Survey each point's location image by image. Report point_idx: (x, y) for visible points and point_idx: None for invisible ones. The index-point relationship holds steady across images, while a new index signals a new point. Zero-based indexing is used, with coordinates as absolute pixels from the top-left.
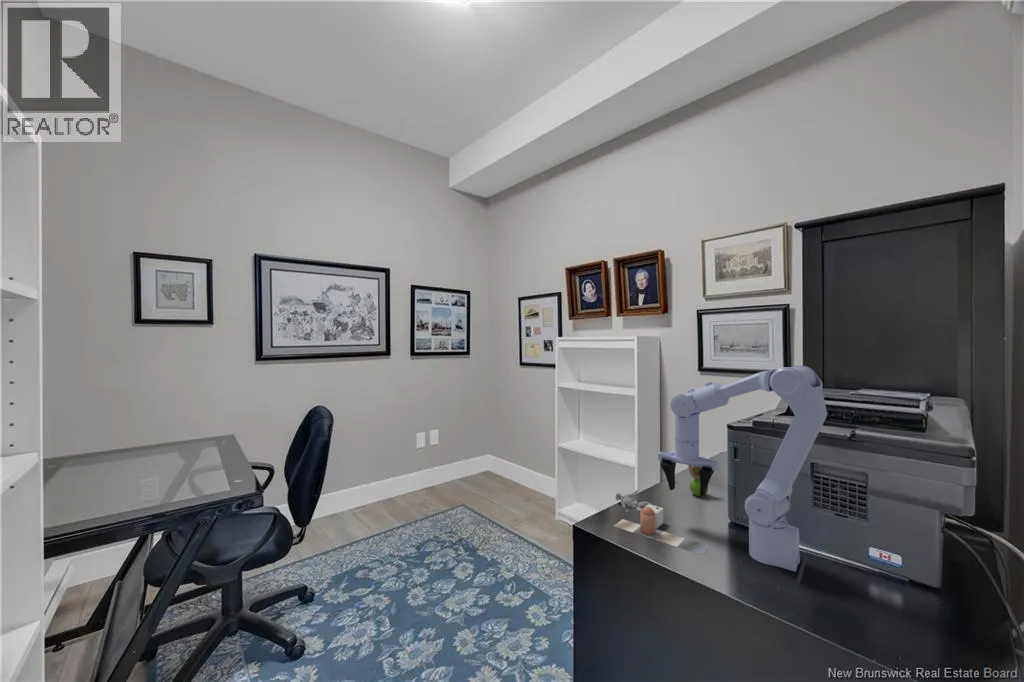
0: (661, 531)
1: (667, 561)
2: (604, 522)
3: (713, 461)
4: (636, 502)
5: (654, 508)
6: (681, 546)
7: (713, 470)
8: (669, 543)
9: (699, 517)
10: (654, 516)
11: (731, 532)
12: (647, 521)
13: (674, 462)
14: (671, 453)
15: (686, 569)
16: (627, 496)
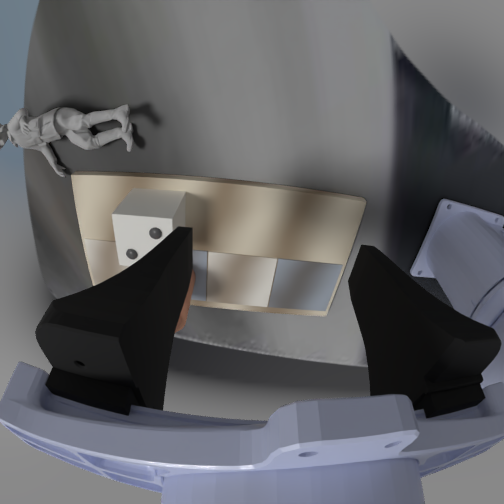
0: (204, 254)
1: (257, 340)
2: (63, 257)
3: (488, 445)
4: (53, 129)
5: (147, 240)
6: (276, 301)
7: (474, 377)
8: (245, 302)
9: (288, 27)
10: (186, 318)
11: (403, 112)
12: None
13: (136, 365)
14: (80, 448)
15: (296, 345)
16: (18, 135)
